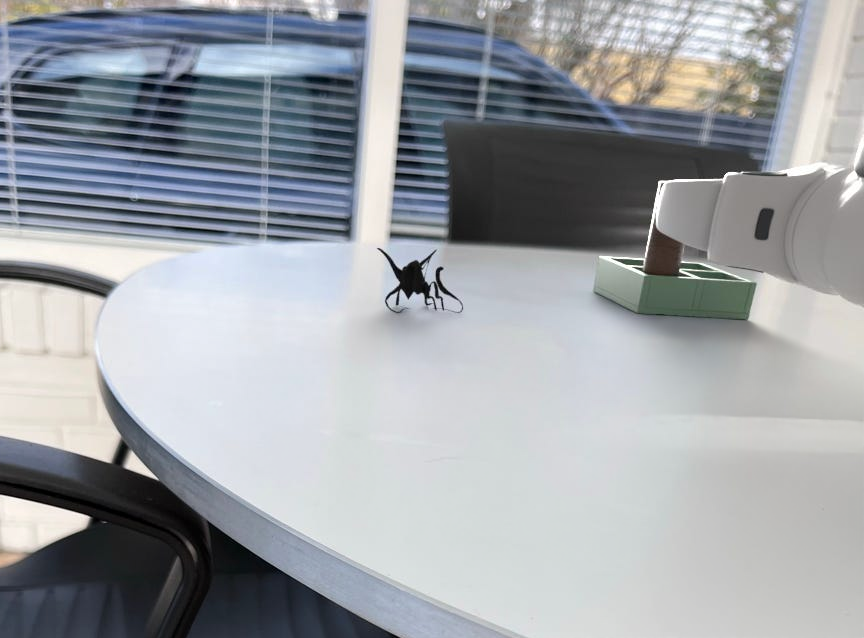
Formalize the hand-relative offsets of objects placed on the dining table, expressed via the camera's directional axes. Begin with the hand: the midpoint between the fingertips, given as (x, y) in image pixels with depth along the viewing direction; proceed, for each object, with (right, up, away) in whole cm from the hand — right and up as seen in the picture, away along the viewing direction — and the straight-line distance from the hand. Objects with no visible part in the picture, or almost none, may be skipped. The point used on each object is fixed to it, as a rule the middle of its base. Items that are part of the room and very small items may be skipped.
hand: (738, 205), depth 92 cm
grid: (-1, -3, +19) cm, 19 cm away
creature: (-28, -8, +4) cm, 29 cm away
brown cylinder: (-3, -3, +15) cm, 16 cm away
